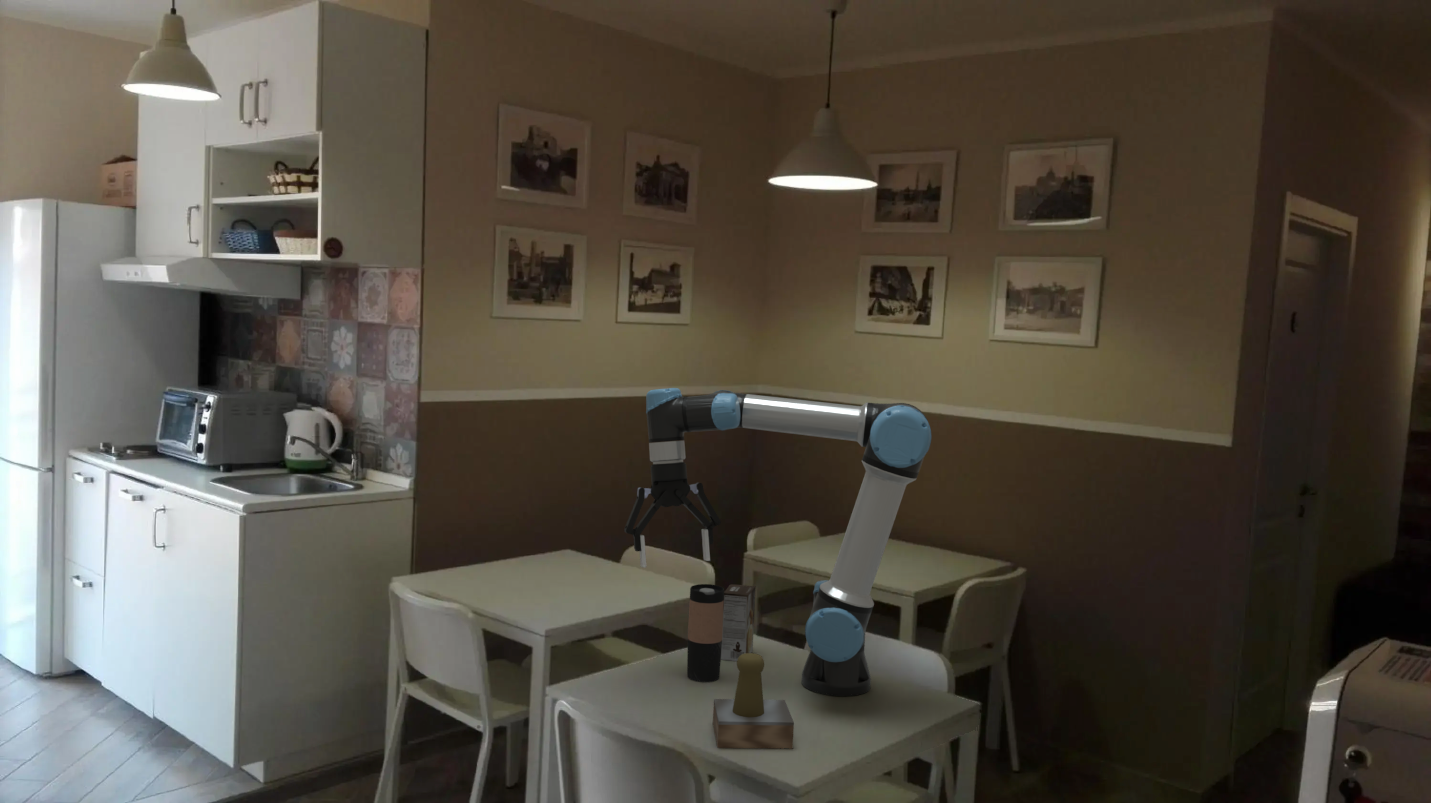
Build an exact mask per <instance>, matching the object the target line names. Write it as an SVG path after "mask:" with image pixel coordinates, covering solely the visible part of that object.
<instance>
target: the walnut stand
mask: <svg viewBox="0 0 1431 803" xmlns="http://www.w3.org/2000/svg"><path fill="white" fill-rule="evenodd" d="M734 699H735V698H713V709H712V710H713V712H712V727H713V732H714V737H715V740H716V746H717V749H724V748H725V749H780V748H781V749H784V748H789V750H790V749H793V748H794V747H793V745H794V729H795V728H794V727H795V725H794V724H795V722H794V720H793V717H792V714H791V712H790V710H789V709H790V708H789V706H788V705H787V702H786V699H763V703H764V714H763V715H761V716H758V717H743V716H739V715H736V714H735V713H733V711H732V710H733V705H734Z"/></svg>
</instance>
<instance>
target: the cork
mask: <svg viewBox="0 0 1431 803" xmlns="http://www.w3.org/2000/svg"><path fill="white" fill-rule="evenodd" d="M736 668H737V670H738V671H739V672H738V677H737V682H736V689H735V694H734V698H733V699H734V705H733V710H732V711H733V713H735V714H736V715H739V716H743V717H758V716H761V715H763V714H764V703H763V700H764V694H763V681H762V680H763V679H762V672H763V671H764V668H765V660H764V658H763V656H761V655H760V654H757V653H753V652H752V653H744V654H742V655H740V656H739V658H738V660H737V661H736Z"/></svg>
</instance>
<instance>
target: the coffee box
mask: <svg viewBox="0 0 1431 803" xmlns="http://www.w3.org/2000/svg"><path fill="white" fill-rule="evenodd" d="M755 600H756V586H755V585H746V584H745V585H744V584H743V585H742V584H729V585H728V586H727V588H726V589H724V604H723V632H722V649H721V661H722V660H723V661H733V662H737V660H738V658H739V656H740V655H742V654H744V653H753V651H754V630H755V629H754V627H755V606H756V605H755V604H756V603H755V602H756V601H755Z"/></svg>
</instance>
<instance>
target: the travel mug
mask: <svg viewBox="0 0 1431 803" xmlns="http://www.w3.org/2000/svg"><path fill="white" fill-rule="evenodd" d="M689 589H690V590H689V605H688V606H689V608H688V610H689V612H688V624H687V625H688V628H687V658H686V660H687V669H686V671H687V672H686V673H687V674H686V676H687V678H688V679H689V680H691V681H694V682H699V683H710V682H711V683H712V682H716V681H717V680H719V679H720V674H721V661H722V660H721V649H722V632H723V604H724V591H725V589H724V587H722V586H720V585H717V584H709V583H708V584H707V583H703V584H702V583H699V584H694V585H691V586H690V588H689Z"/></svg>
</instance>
